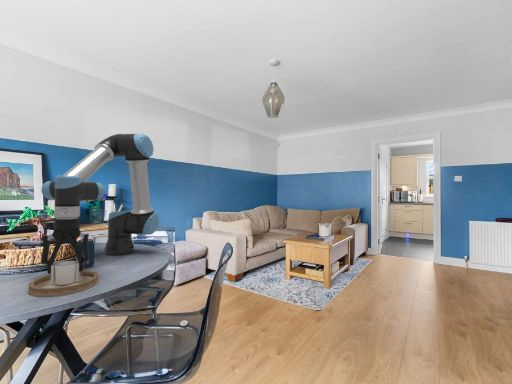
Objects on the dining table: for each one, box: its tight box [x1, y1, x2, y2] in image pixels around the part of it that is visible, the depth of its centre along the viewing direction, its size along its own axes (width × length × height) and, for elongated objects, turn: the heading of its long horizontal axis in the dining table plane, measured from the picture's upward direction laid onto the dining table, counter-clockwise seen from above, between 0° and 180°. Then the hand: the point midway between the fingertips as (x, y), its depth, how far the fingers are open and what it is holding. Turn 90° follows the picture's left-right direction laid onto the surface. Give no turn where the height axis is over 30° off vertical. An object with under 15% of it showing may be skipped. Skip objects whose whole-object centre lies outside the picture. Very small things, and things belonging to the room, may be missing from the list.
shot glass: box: [53, 260, 78, 285], centre depth 95 cm, size 7×7×7 cm
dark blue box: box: [75, 238, 96, 269], centre depth 117 cm, size 7×7×12 cm
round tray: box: [28, 269, 100, 298], centre depth 95 cm, size 20×20×2 cm
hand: (65, 281), depth 95 cm, fingers closed on shot glass, 7 cm apart
